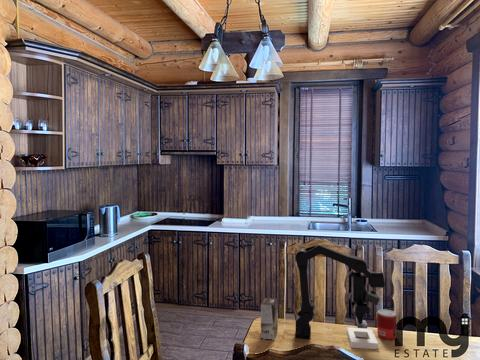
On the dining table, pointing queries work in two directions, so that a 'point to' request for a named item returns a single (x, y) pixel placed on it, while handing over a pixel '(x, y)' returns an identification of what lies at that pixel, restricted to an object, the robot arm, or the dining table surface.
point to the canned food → (386, 324)
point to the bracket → (363, 325)
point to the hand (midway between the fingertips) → (359, 321)
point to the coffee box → (269, 318)
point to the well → (362, 343)
